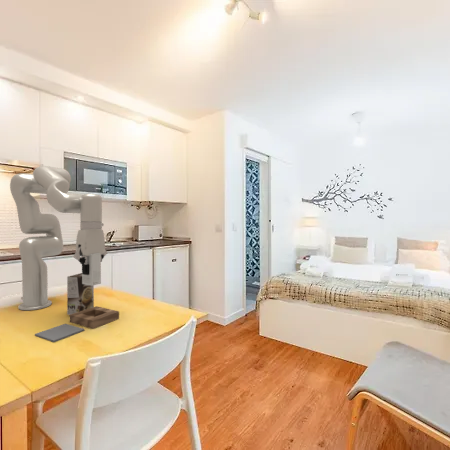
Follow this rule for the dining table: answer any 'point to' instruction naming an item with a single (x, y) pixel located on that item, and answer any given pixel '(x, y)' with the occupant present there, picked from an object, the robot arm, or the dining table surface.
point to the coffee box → (78, 294)
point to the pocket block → (94, 317)
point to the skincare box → (93, 270)
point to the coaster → (59, 332)
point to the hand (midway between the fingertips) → (91, 272)
